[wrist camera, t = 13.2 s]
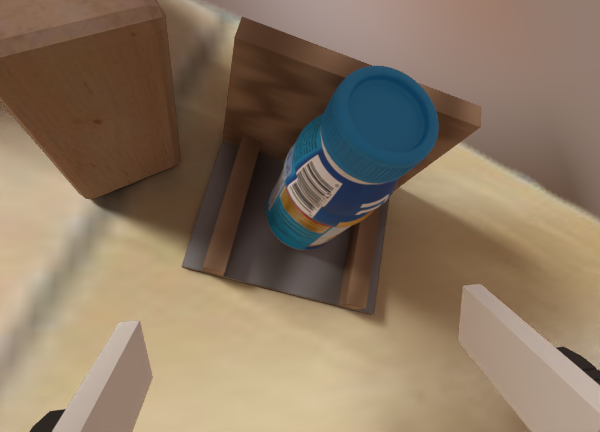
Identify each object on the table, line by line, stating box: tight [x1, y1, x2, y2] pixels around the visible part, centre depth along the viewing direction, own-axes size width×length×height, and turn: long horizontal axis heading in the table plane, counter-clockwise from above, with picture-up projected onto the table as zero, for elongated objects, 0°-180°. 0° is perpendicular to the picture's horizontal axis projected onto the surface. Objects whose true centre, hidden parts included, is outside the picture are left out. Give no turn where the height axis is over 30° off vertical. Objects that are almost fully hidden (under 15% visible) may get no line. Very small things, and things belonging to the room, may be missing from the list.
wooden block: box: [0, 0, 181, 199], centre depth 29 cm, size 10×10×20 cm
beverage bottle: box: [266, 66, 439, 250], centre depth 31 cm, size 8×8×20 cm
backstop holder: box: [182, 17, 481, 314], centre depth 33 cm, size 20×16×16 cm
